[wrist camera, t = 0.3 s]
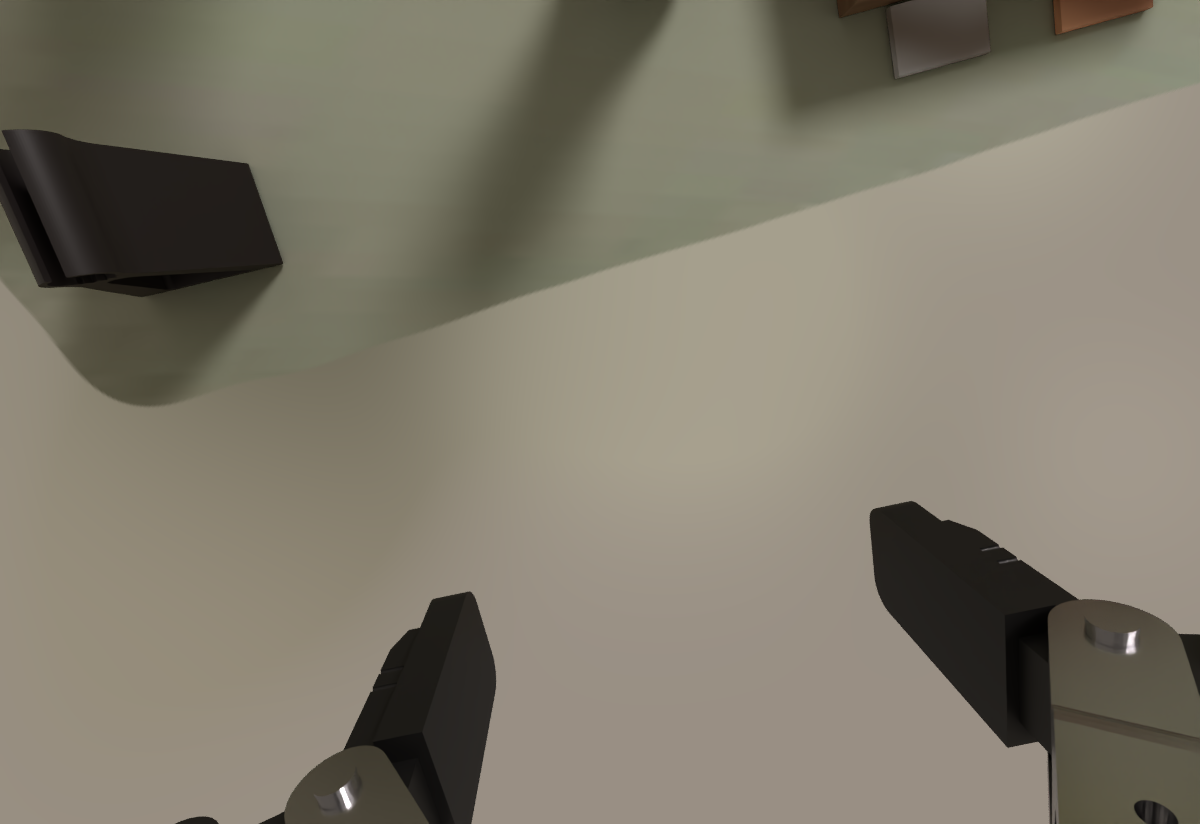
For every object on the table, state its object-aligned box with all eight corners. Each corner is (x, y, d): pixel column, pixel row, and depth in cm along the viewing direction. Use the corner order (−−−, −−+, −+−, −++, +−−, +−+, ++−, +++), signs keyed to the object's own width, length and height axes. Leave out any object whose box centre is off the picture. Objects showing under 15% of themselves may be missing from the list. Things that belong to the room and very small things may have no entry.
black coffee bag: (144, 296, 36) (-50, 304, 25) (104, 197, 35) (-121, 157, 23) (285, 264, 37) (159, 256, 25) (251, 164, 35) (100, 107, 24)
